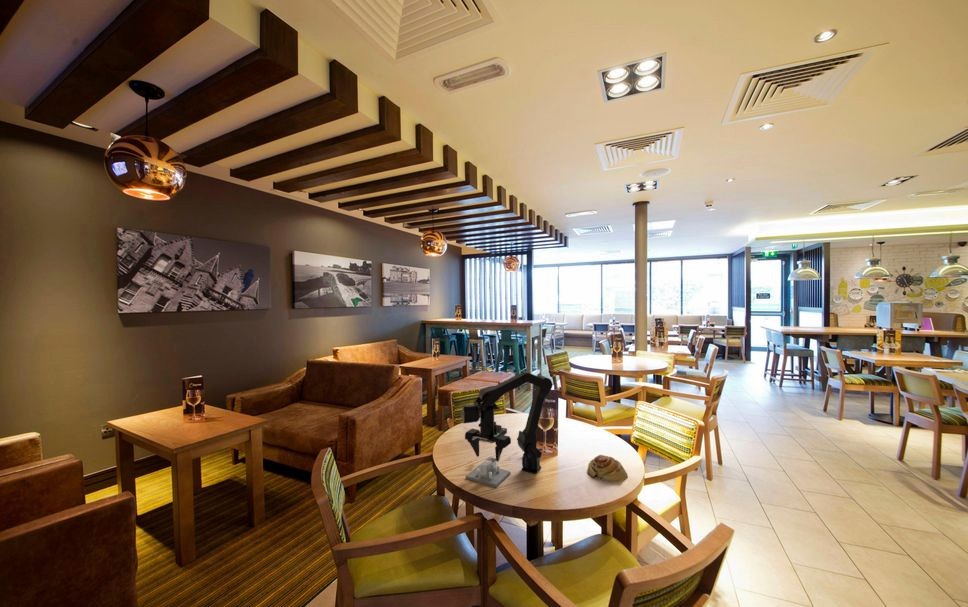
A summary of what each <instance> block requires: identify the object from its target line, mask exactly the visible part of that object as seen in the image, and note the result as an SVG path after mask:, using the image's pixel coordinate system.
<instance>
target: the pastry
mask: <svg viewBox="0 0 968 607" xmlns="http://www.w3.org/2000/svg"><path fill="white" fill-rule="evenodd" d="M587 465H588V467H587V470H586V473H587V474H588V476H589V477H590V478H592V479H594V478H595V477H597V479H599V478H600V480H602V479H603V480H602V481H605V480H606V482H610V481H617V482H621V481H620V480H622V479H624V480H626V479H628V473H627V471H626V469H625V468H624V466H623V465H622V463H621V462H620V461H619V460H617V459H615V458H614V457H611V456H609V455H604V454H598V455H597V456H595V457H594V458H593V459H592V460H590V461H589V462H588V464H587ZM625 478H626V479H625ZM622 481H623V480H622Z"/></svg>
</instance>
